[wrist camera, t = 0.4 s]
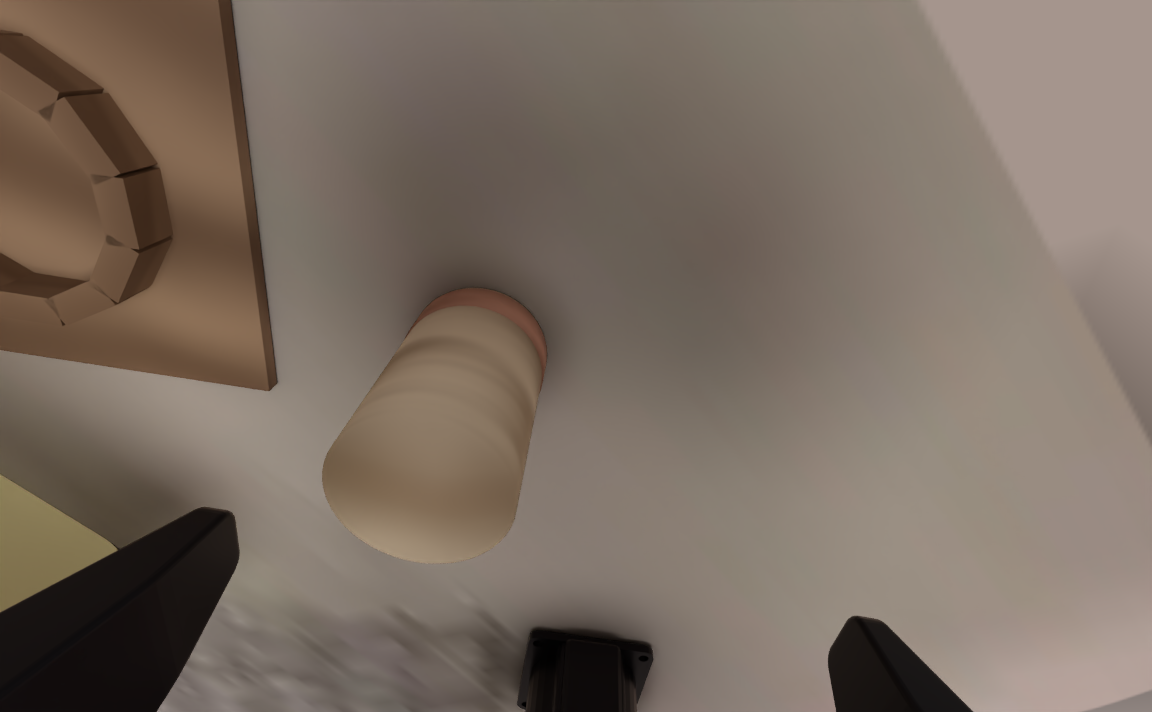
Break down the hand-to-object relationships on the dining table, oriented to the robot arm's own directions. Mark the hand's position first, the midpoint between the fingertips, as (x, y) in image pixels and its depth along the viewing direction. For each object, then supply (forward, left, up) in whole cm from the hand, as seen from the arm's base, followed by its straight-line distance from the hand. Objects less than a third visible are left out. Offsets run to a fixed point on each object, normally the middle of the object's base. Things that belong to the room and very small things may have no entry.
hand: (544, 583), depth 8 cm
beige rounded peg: (-4, +3, -13) cm, 14 cm away
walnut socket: (0, +18, -13) cm, 23 cm away
